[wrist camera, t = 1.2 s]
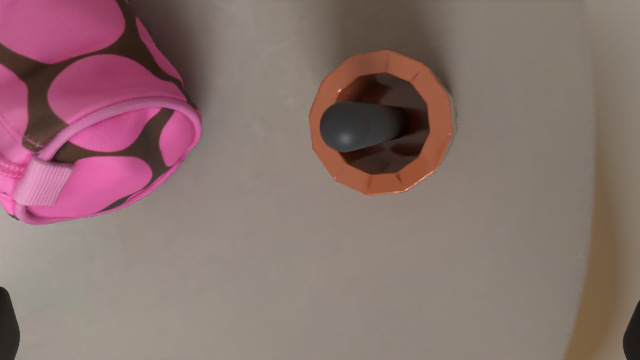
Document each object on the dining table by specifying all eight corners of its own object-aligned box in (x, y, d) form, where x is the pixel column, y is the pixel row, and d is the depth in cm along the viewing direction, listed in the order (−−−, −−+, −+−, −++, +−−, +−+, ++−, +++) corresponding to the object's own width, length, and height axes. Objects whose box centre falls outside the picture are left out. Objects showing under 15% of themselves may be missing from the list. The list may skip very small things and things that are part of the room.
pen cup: (481, 134, 24) (481, 138, 19) (385, 202, 26) (363, 221, 21) (410, 39, 25) (393, 20, 20) (319, 111, 26) (283, 110, 21)
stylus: (418, 125, 24) (375, 132, 15) (392, 144, 25) (333, 164, 15) (399, 100, 25) (343, 89, 15) (374, 119, 25) (303, 122, 15)
